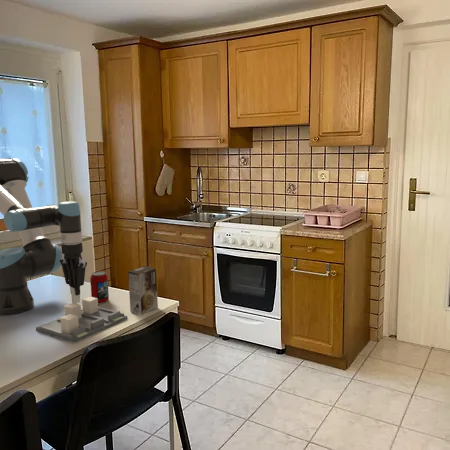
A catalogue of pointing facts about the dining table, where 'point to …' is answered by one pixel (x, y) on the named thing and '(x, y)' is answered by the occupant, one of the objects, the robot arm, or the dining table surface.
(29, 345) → the dining table surface
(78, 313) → the beige block
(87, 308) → the cream white block
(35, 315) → the dining table surface
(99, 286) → the beverage can
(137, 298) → the coffee box
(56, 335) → the switch board
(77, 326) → the beige block
